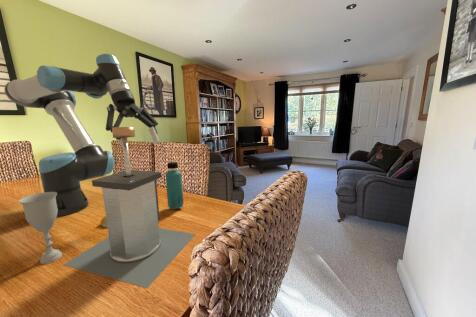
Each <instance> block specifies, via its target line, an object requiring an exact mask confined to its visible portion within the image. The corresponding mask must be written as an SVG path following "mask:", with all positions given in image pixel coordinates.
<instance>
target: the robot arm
mask: <svg viewBox="0 0 476 317" xmlns="http://www.w3.org/2000/svg"><path fill="white" fill-rule="evenodd" d="M95 62H96V66H97V68H96V69H95V71H94V72H93V73H88V72H84V71H78V70H73V69H67V68H62V67H58V66H53V65H40V66H39V67H38V68H37V70H36V75H33V76H30V77H27V78H25V79H22V78H21V79H19V78H18V79H12V80H11V81H8V82H7V83H6V84H5V86H4V94H5V96H6V97H7V99H8V100H10V101H11V102H13V103H14V104H16V105H19V106H21V107H25V108H31V109H32V108H33V109H44V111H45V112H46V114H48V115H50V116H52V117H53V118H54V121H56V124H57V125H58V127H59V128H60V130H61V132H62V133H63V135H64V137H65V138H66V140H67V141H68V143H69V145H70V146H71V149H72V150H73V152H63V153H56V154H51V155H48V156H45V157H42V158H41V159H39V161H38V172H39V175H40V180H41V185H42V190H43V193H44V192H57V195H56V204H57V209H58V213H57V217H61V216H66V215H67V216H68V215H70V214H71V215H72V214H74V213H78V212H80V211H82V210H84V209H86V208H87V207H88V206H89V200H88V198H87V196H86V195H85V193H84V191H83V190H82V187H81V182H84V181H86V180H91V179H95V178H96V179H97V178H102V177H105V176H108V175H111V174H112V172H114V168H115V158H114V156H113V153H112V152H111V151H109V150H103V148H102V147H101V146H100V145H98V144H95V142H94V141H93V139H92V138H91V136H90V134H89V133H88V131H87V129H86V128H85V127H84V125H83V123H82V121H81V120H80V119H79V116H78V115H77V113H76V112H75V107H76V105H77V101H76V97H75V92H76V93H85V95H87V96H88V97H91V98H92V99H95V100H96V99H101V98H103V97H104V96H106V95H107V94H108V93H109V96H110V98H111V100H112V103H113V104H112V103H109V104H108V105H107V106H106V110H107V117H106V124H105V130H106V131H107V132H109V131H110V133H112V127H121V126H120V125H121V123H122V122H123V120H124V117H125V118H134V119H137V120H138V121H140V122H141V123H143V124H144V125H145V126H146V127H148V131H149V134H150V136H151V139H152V141H153V143H154V144H155V145H156V144H158V143H159V142H160V138H159V136H158V130H157V128H156V127H157V126H158V125H159V123H158V121H157V120H156V119H155V118H154V117H153V115H151V113H149V111H148V110H147V109H146V107H145V106H144V104H140V105H137V104H136V100H135V98H134V95H133V92H132V91H131V88H130V85H129V83H128V81H127V78H126V76H125V74H124V72H123V69H122V66H121V64H120V62H119V60H118V58H117V56H115V55H114V54H112V53H111V54H110V53H101V54H99V55H97V56H96V58H95ZM115 111H116V112H118V113H119V114H118V115H117V118H116V120H115V122H114V118H115V117H114V116H115ZM115 139H116V141H118V142H119V144H120V147H121V149H122V150H123V144H122V138H115Z"/></svg>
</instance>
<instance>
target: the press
mask: <svg viewBox="0 0 476 317" xmlns="http://www.w3.org/2000/svg"><path fill="white" fill-rule="evenodd" d="M161 178H162V171H152V170H138V169H137V170H136V169H131V177H129V178H128V177H126V170H123V171H119V172H116V173H113V174H112V173H111V174H108V175H104V176H102V177H98V178H96V179H95V178H94V179H93V180H91V184H92V187H95V188H97V187H98V188H101V190H102V199H103V206H104V212H105V216H106V220H107V227H106V228H107V232H108V234H107V235H108V237H109V241H110V248H111V251H110V255H111V259H112V260H113V261H115V262H117V263H133V262H137V261H141V260H143V259H145V258H148V257H149V256H151V255H152V254H154V253H155V252H156V251H157V250H158V249H159V247H160V245H161V238H160V236H159V228H160V227H159V220H160V219H161V218H160V211H159V210H160V208H159V207H160V206H159V197H158V185H157V184H158V183H157V180H158V179H161Z"/></svg>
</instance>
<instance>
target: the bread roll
mask: <svg viewBox="0 0 476 317" xmlns="http://www.w3.org/2000/svg"><path fill="white" fill-rule="evenodd" d="M100 225H101V226H102V227H103V228H108V227H107V220H106V215H105V216H103V218H102V219H101V221H100Z"/></svg>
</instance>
